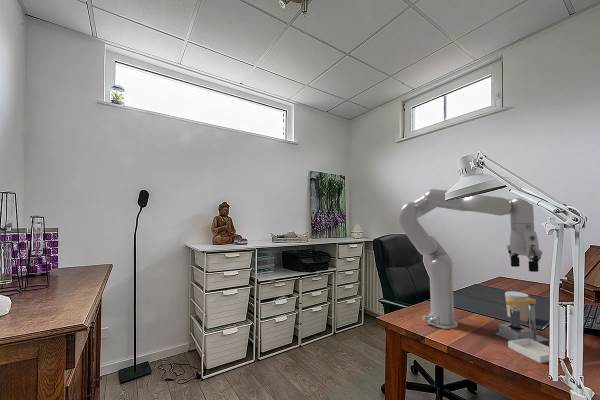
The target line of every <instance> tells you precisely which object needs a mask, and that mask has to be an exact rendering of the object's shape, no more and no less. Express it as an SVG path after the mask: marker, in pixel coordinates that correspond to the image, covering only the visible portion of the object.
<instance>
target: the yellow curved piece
mask: <svg viewBox="0 0 600 400" xmlns="http://www.w3.org/2000/svg"><path fill="white" fill-rule="evenodd" d="M529 303H530V304H535V305H536V304H537V300H536V299H535V298H531V297H529V298H527V299H525V300H515V301H506V300H505V305H509V306H511V305H520V304H529Z"/></svg>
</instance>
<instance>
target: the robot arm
mask: <svg viewBox="0 0 600 400" xmlns="http://www.w3.org/2000/svg"><path fill="white" fill-rule="evenodd" d="M447 191H448V190H444V189H436V188H434V189H433V188H431V189H428V190H426V192H425V193H424V194H423V195H422V196H421V197H419V198H418V199H416V200H414V201H410V202H406V203H404V205H402V206H401V209H400V211H399V214H398V223H399V225H400V227H401V229H402V230H403V232H404V233H405V235H406V236H407V238H408V239H409V241H410V242H411V244H412V245H413V246H414V247H415V249H416V250H417V252H418V253H419V254H420V255H422V256H424V257H425V258H426V259H427V261H428V262H429V263H428V273H429V292H430V295H429V297H430V312H428V315H422V317H421V319H422V320H423V321H427V322H428V324H429V325H431V326H433V327H436V328H440V329H444V330H450V329H455V328H458V327H459V323H458V321H456V320H455V313H454V311H455V310H454V309H455V308H454V285H453V281H454V280H453V268H454V267H453V266H454V265H453V264H454V263H453V259H452V258H451V257H450V255H449V254H448V252H447V251H446V250H445V248H444V247H443V246H442V245H441V244H440V243H439V241H438V240H437V239H436V237H434V236H432V235H429V233H428V232H427V231H426V230H425V228H424V227H423V226H422V225H421V224H420V222H419V221H418V219H420V217H422V216H424V215H426V214H427V213H430V212H431V211H433V210H435V209H436V208H440V209H445V210H454V211H460V212H474V213H481V214H488V215H494V216H505V215H510V216H509V217H510V218H509V219H510V234H509V244H508V245H506V248H507V252H508V254H509V258H510V267H515V268H519V267H520V265H521V264H520V263H521V262H520V257H519V256H526V257H527V259H528V260H529V261H528V271H529V272H531V273H535V272H536V273H538V272H539V262H540V260H541V258H542V255H543V251H542V250H541V249H540V245H539V239H538V234H537V232H536V231H535V218H534V216H535V215H534V204H533V205H532V204H530V203H528V202H527V201H525V200H523V199H521V198H522V197H514V198H511V199H510V198H505V197H502V196H501V197H500V196H492V195H483V194H476V195H474V196H470V197H465V198H461V199H456V200H449V201H446V200H445V193H446V192H447Z"/></svg>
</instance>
